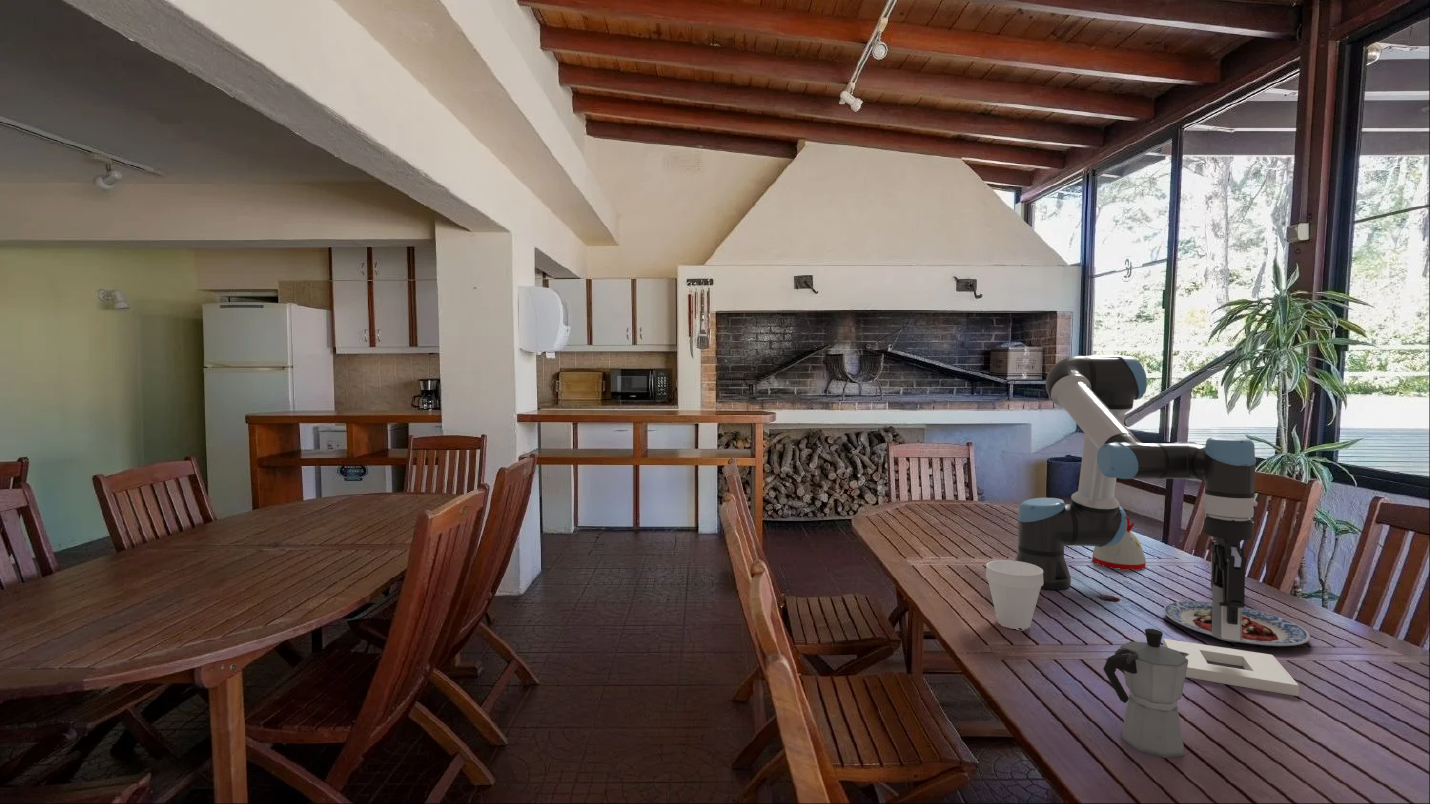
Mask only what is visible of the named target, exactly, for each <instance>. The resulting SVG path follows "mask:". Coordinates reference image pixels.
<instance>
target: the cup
mask: <svg viewBox="0 0 1430 804" xmlns="http://www.w3.org/2000/svg"><path fill="white" fill-rule="evenodd" d="M985 567H986V569H985V579H986V580H987V581H988V586H989V589H990V594H991V599H992V603H993V607H994V612H995V616H996V620H998V621H997V623H998V622H1000V623H1001V624H1003V625H1005V626H1008V627H1012V628H1022V629H1025V628H1028V627H1030V628H1031V624H1032V620H1033V617H1034V614H1035V610H1036V607H1037V602H1038V599H1039V595H1040V592H1041V586H1043V584H1044V583H1043V570H1042V569H1041V568H1040V567H1038V566H1036V565H1033V564H1030V563H1025V562H1020V561H1015V560H1011V559H1010V560H1009V559H996V560H990V561H988V562H987V563H986V564H985Z"/></svg>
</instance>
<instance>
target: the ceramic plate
mask: <svg viewBox="0 0 1430 804" xmlns="http://www.w3.org/2000/svg"><path fill="white" fill-rule="evenodd" d="M1163 612H1164V614H1165V616H1166V617H1167V618H1169V619H1171V621H1173V622H1175V624H1179V625H1181V626H1183V627H1185V628H1188V629H1190V630H1193V631H1195V632H1199V633H1202V634H1205V635H1207V636H1211V637H1214V636H1213V635H1212V601H1203V600H1202V601H1201V600H1200V601H1197V600H1191V601H1189V600H1186V601H1185V600H1184V601H1183V600H1182V601H1176V602H1171V603H1168V604H1166V605H1165V606H1164V607H1163ZM1214 638H1215V637H1214ZM1310 638H1311V635H1310V633H1309V632H1308V631H1307V630H1306V629H1305V628H1303V627H1302V626H1301V625H1299V624H1297V623H1295V622H1293V621H1290V620H1287V619H1286V618H1282V617H1280V616H1278V615H1274V614H1271V613H1268V612H1264V611H1262V610H1257V609H1254V608H1249V607H1245V606H1244V608H1242V637H1241V641H1239V642H1238V643H1240V644H1248V645H1259V646H1269V647H1271V646H1273V647H1290V646H1298V645H1299V646H1300V645H1303V644H1306V643H1307V642H1309V641H1310Z"/></svg>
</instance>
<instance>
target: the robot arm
mask: <svg viewBox="0 0 1430 804" xmlns="http://www.w3.org/2000/svg"><path fill="white" fill-rule="evenodd" d="M1147 387H1148V380H1147V374H1146V371H1145V369H1144V366H1143V365H1142V363H1141V362H1140V361H1139V360H1138V359H1137V358H1136V357H1133V356H1129V355H1118V354H1117V355H1116V354H1114V355H1113V354H1110V355H1109V354H1108V355H1105V354H1104V355H1084V356H1083V355H1072V356H1068V357H1065V358H1063V359H1060V360H1059V361H1057V363H1055V364H1054V365H1053V366H1052V367H1051V368H1050V370H1049V371H1048V373H1047V375H1046V378H1045V390H1046V392H1047V395H1048V397H1049V398H1050V400H1051V401H1052V402H1053V403H1054V404H1055V406H1058V407H1060V408H1064V409H1065V411H1066V412H1067V414H1069V416H1070V418H1072V420H1073V421H1074V422H1075V423H1076V424H1077V426H1078V427H1079V428H1080V429H1081V431H1082V432H1083V433H1084V439H1083V447H1082V456H1081V464H1080V471H1079V472H1080V473H1079V482H1078V483H1079V484H1078V490H1077V491H1075V492H1074V493H1072V494H1071V497H1070V503H1065V501H1064V500H1063V499H1060V498H1058V497H1057V498H1056V497H1035V498H1030V499H1025V500H1024V501H1022V502H1021V503H1019V506H1018V515H1017V553H1016V556H1015V559H1014V561H1020V562H1025V563H1030V564H1033V565H1036V566H1038V567H1040V568H1041V569H1042V570H1043V583H1044V584H1043V586H1041V588H1042V589H1043V590H1064V589H1065V590H1066V589H1067V588H1070V587H1071V583H1072V582H1071V581H1072V578H1071V574H1070V571H1069V568H1068V564H1067V562H1066V559H1065V554H1064V553H1065V546H1066V547H1067V546H1069V547H1070V546H1075V547H1078V546H1079V547H1080V546H1081V547H1095V546H1097V547H1103V546H1113V545H1116V544H1118V543H1119V542H1120V541H1121V540H1122V539H1123V538H1124V536H1125V533H1126V530H1127V520H1126V519H1127V513H1126V511H1125V510H1124V508H1123V507H1122V506H1121V505H1120V502H1119V500H1118V499H1117V498H1116V497H1115V491H1116V484H1117V479H1120V480H1129V479H1130V480H1132V479H1135V480H1136V479H1158V480H1159V479H1164V480H1165V479H1166V480H1167V479H1168V480H1169V479H1170V480H1172V479H1173V480H1196V481H1201V482H1204V495H1203V497H1204V499H1203V500H1204V502H1203V503H1204V506H1203V507H1204V508H1203V512H1204V513H1205V514H1206V515H1205V516H1204V521H1203V532H1204V534H1205V535H1206V536H1210V537H1212V538H1216V539H1215V540H1211V543H1210V544H1211V552H1212V585H1211V584H1210V587H1211V589H1212V590H1213V583H1215V582H1223V599H1224V602H1223V603H1222V602H1219V605H1220V606H1222V609H1221V638H1222V639H1229V640H1236V641H1240V608H1244V607H1245V606H1246V604H1245V592H1246V589H1245V587H1246V586H1245V585H1246V565H1247V562H1248V559H1247V557H1246V556H1245V554H1244V553H1245V552H1244V549H1243V548H1241V542H1242V541H1251V540H1252V539H1254V537H1255V536H1254V535H1255V534H1254V533H1255V532H1254V531H1255V522H1254V521H1253V520H1252V518H1254V513H1255V512H1254V511H1255V510H1254V509H1255V508H1254V507H1258V504H1259V503H1258V501H1256V500H1255V487H1256V486H1255V485H1256V484H1255V483H1256V481H1255V480H1256V463H1257V458H1256V453H1255V452H1256V448H1255V443H1254V441H1252V440H1251V439H1248V438H1241V437H1238V438H1237V437H1222V436H1218V437H1217V436H1216V437H1215V436H1214V437H1209V438H1207V440H1206V441H1205V444H1201V443H1196V442H1194V441H1177V442H1176V441H1175V442H1173V443H1172V442H1171V443H1170V442H1169V443H1168V442H1167V443H1161V442H1160V443H1157V442H1155V443H1153V442H1151V443H1150V442H1149V443H1148V442H1147V443H1144V442H1142V441H1140V439H1138V437H1136V436H1135V435H1134V434H1133V432H1132V431H1130V429H1129V428H1128V427H1127V426H1126V425H1125V423H1124V422H1125V418H1126V417H1125V416H1126V414H1127V413H1128V412H1130V411H1131V410H1132V409H1133V408H1134V401H1137V400H1140V399H1142V398H1143V397H1144V395H1145V394H1146V391H1147Z"/></svg>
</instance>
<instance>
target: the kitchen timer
mask: <svg viewBox="0 0 1430 804" xmlns="http://www.w3.org/2000/svg"><path fill="white" fill-rule="evenodd" d="M1126 520H1127V530H1126V533H1125V536H1124V538H1123V539H1122V540H1121V541H1120V542H1119V543H1118V544H1116V545H1113V546H1103V547H1097V546H1093V547H1094V548H1093V551H1092V562H1093V561H1094V563H1095V564H1097V563H1098V564H1097V565H1099V564H1100V566H1102V565H1104V566H1103V567H1105V566H1107V567H1106V568H1110V567H1112V568H1111V569H1115V568H1120V569H1119V570H1123V569H1141V570H1143V569H1142V568H1144V569H1146V567H1147V566H1146V564H1147V563H1146V557H1145V553H1144V550H1143V548H1142V545H1141V542H1140V541H1139V539H1138V538H1137V536H1136V534H1134V532H1132V531H1131V530H1132V529H1133V527H1134V525H1135V522H1133V523H1130V517H1126ZM1145 566H1146V567H1145Z"/></svg>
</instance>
